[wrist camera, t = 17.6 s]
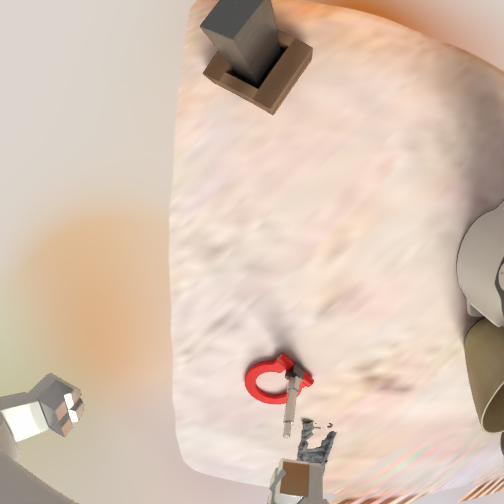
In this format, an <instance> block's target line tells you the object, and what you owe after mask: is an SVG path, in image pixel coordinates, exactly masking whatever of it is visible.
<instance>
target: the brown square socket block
mask: <svg viewBox="0 0 504 504" xmlns="http://www.w3.org/2000/svg"><path fill="white" fill-rule="evenodd" d="M277 33H278V38H279V43H280V49H281V54H282V57H281V58H280V59H279V61H278V62H277V64H276V65H275V66H274V68H273V69H272V71H271V72H270V73H269V75H268V76H267V78H266V79H265V81H264V82H263V84H262V85H261V86H260V88H257V87H255V86H254V85H252V84H250V83H248V82H246V81H244V80H242V79H240V78H239V77H238V75H237V74H236V73H235V71H234V70H233V69H232V67H231V66H230V65H229V63H228V62H227V61H226V59H225V58H224V57H223V55H222V54H221V53H220V51H219V50H218V52H217V53H216V54H215V56H214V57H213V59H212V60H211V62H210V63H209V65H208V66H207V68H206V69H205V71H204V72H203V74H204V75H205V76H206V77H207V78H208V79H210V80H211V81H212V82H213V83H215V84H217V85H219V86H221V87H223V88H225V89H227V90H229V91H231V92H232V93H234V94H236V95H238V96H240V97H242V98H244V99H245V100H247V101H249V102H251V103H253V104H254V105H256V106H258V107H260V108H261V109H263V110H265V111H267V112H268V113H270V114H272V115H274V114H275V112H276V111H277V109H278V108H279V106H280V105H281V103H282V102H283V100H284V99H285V98H286V96H287V95H288V93H289V92H290V90H291V89H292V87H293V86H294V84H295V83H296V82H297V80H298V79H299V77H300V76H301V74H302V73H303V72H304V70H305V69H306V67H307V66H308V64H309V63H310V62H311V60H312V51H313V48H312V47H310V46H309V45H307V44H305V43H303V42H301V41H299V40H297V39H295V38H293V37H291V36H289V35H287V34H285V33H283V32H281V31H279V30H277Z"/></svg>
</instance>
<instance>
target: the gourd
mask: <svg viewBox="0 0 504 504" xmlns="http://www.w3.org/2000/svg"><path fill="white" fill-rule="evenodd" d="M501 450H502V453H503V455H504V432H502V435H501Z"/></svg>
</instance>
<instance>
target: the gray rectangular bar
mask: <svg viewBox="0 0 504 504" xmlns="http://www.w3.org/2000/svg"><path fill="white" fill-rule="evenodd" d="M200 27H201V29H202V30H203V31H204V32H205V34H206V35H207V36H208V37H209V39H210V40H211V41H212V42H213V44H214V45H215V46H216V48H217V49H218V50H219V51H220V53H221V54H222V55H223V57H224V58H225V59H226V61H227V62H228V63H229V65H230V66H231V67H232V69H233V70H234V71H235V73H236V74H237V75H238V77H239V78H240V79H242V80H244V81H246V82H248V83H250V84H252V85H254V86H255V87H257V88H260V86H261V85H262V84H263V82H264V81H265V79H266V78H267V76H268V75H269V73H270V72H271V71H272V69H273V68H274V66H275V65H276V64H277V62H278V61H279V59H280V58H281V57H282V54H281V49H280V43H279V38H278V33H277V27H276V22H275V17H274V12H273V7H272V3H271V0H220V1H219V2H218V3H217V4H216V6H215V7H214V8H213V9H212V11H211V12H210V13H209V15H208V16H207V17H206V18H205V20H204V21H203V22H202V24H201V25H200Z"/></svg>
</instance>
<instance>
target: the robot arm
mask: <svg viewBox="0 0 504 504" xmlns="http://www.w3.org/2000/svg"><path fill="white" fill-rule="evenodd" d="M457 276H458V281H459V285H460V287H461V289H462V291H463V293H464V295H465V297H466V306H467V312H468V314H469V315H471V316H472V317H484V316H485V317H486V318H487V319H488V320H490V321H491V322H492V323H493V324H494V325H496V326H497V327H501V326H504V201H503V202H502V203H501V204H500V205H499V206H498V208H496V209H495V210H492V211H490V212H487V213H485V214H484V215H482V216H481V217H479V218H478V219H477V220H476V221H475V222H474V223H473V224H472V226H471V227H470V228H469V230H468V231H467V233H466V235H465V237H464V239H463V241H462V244H461V247H460V250H459V254H458V260H457ZM80 396H81V391H80V389H79V388H77V387H75V386H73V385H71V384H69V383H68V382H66V381H64V380H62V379H61V378H59V377H58V376H56V375H54V374H53V373H49V374H47V375H46V376H45V377H44V378H43V379H42V380H41V381H40V382H39V383H38V384H37V385H36V386H35V387H33V389H31V390H30V391H29V392H28V393H26V392H22V393H17V394H13V395H9V396H3V397H0V504H78V503H76V502H75V501H73V500H71V499H69V498H68V497H66V496H65V495H63V494H62V493H60V492H58V491H57V490H55V489H53V488H52V487H51V486H49V485H48V484H46V483H45V482H43V481H42V480H40V479H39V478H37V477H36V476H35V475H33V474H32V473H31V472H29V471H28V470H27V469H25V468H24V467H23V466H21V465H20V464H18V463H17V462H16V461H15V460H16V459H17V458H18V457H19V455H20V454H21V450H20V448H19V446H18V445H17V443H16V442H17V441H19V440H23V439H25V438H28V437H30V436H33V435H36V434H38V433H41V432H43V431H46V430H48V429H49V428H50V429H51V430H53V431H55V432H56V433H58V434H60V435H62V436H63V437H66V435H67V434H68V433H69V432H70V430H71V429H72V428H73V426H72V422H76V421H78V420H79V419H80V417H81V416H82V414H83V411H84V404H83V401H82V400H81V398H80ZM270 490H271V491H272V492H271V494H270V495H269V497H268V501H267V504H329V502H328V501H327V500H326V499H322V498H323V497H322V495H323V467H322V464H319V463H310V462H305V461H297V460H290V459H284V458H282V459H281V460H280V462H279V467H278V468H276V469H275V471H274V472H273V475H272V478H271V482H270Z"/></svg>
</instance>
